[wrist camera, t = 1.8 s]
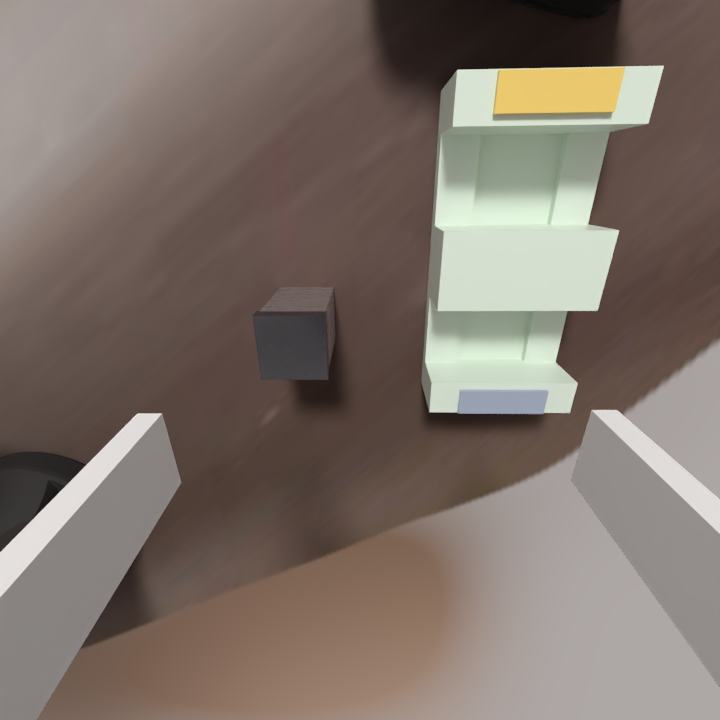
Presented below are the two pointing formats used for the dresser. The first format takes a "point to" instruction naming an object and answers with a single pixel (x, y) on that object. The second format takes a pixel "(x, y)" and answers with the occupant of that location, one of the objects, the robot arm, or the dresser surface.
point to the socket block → (519, 229)
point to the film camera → (571, 6)
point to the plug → (296, 334)
